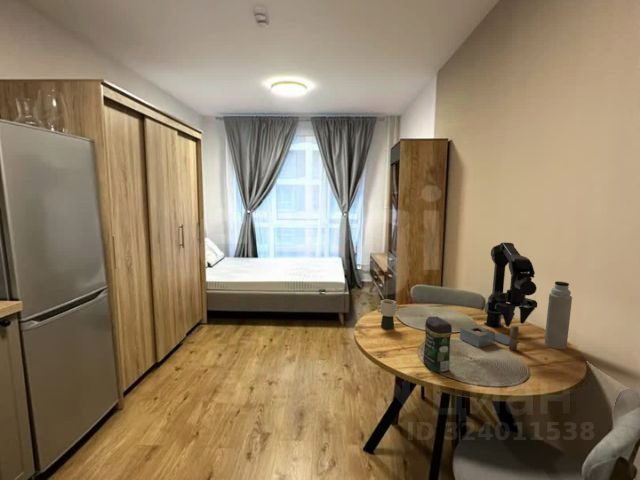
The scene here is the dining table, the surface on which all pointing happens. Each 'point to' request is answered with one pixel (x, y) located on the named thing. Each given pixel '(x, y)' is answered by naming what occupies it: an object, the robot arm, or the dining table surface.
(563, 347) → the thermos bottle
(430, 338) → the coffee jar
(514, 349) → the brown cylinder rod
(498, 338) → the pad
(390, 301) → the character mug
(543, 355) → the dining table surface
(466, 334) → the plate
